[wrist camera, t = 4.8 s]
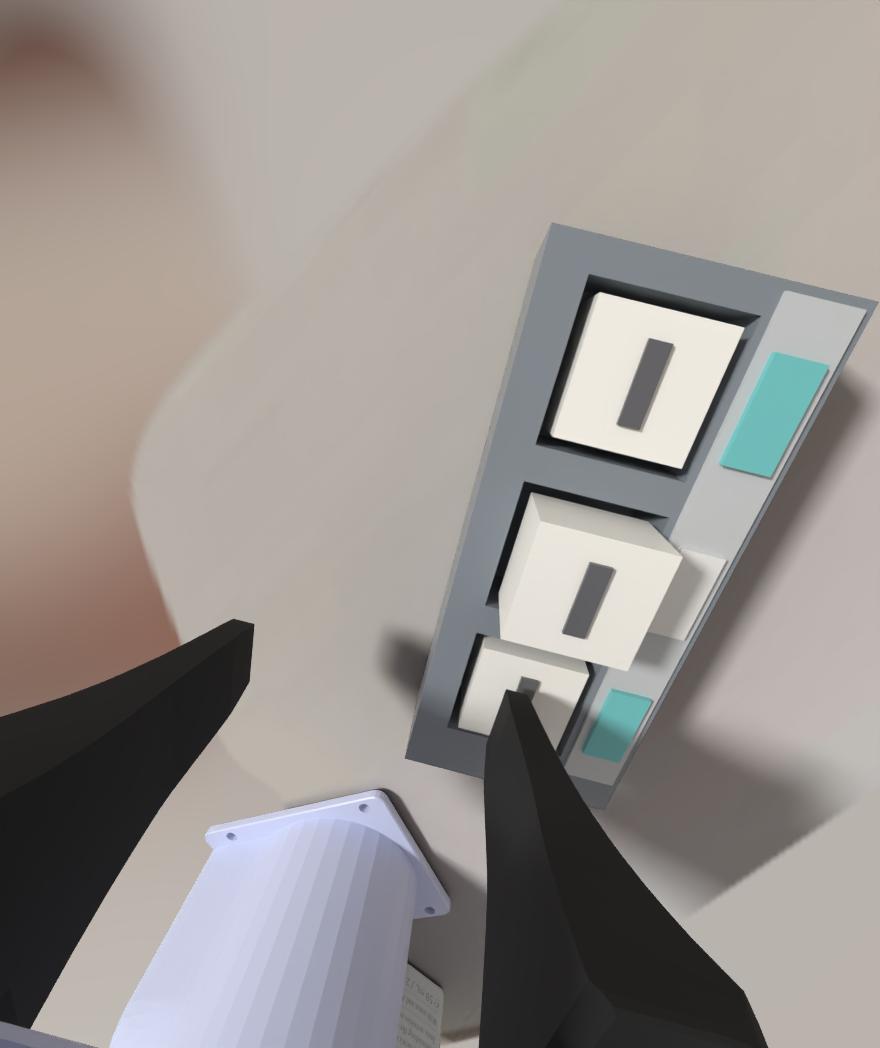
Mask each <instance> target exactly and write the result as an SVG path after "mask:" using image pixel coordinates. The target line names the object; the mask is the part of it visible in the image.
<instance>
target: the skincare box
mask: <svg viewBox="0 0 880 1048" xmlns="http://www.w3.org/2000/svg"><path fill="white" fill-rule="evenodd" d="M443 1007H444V994H443V990H442V989H441V988H440V987H438V986H437V985H435V984H434V983H433V982H432V981H430V980H429V979H428V978H426V977H425V976H424V975H422V974H421V973H420V972H419V971H417V970H416V969H415V968H413V967H412V966H411V965H409V964H408V963H407V968H406V975H405V983H404V990H403V998H402V1005H401V1013H400V1020H399V1028H398V1035H397V1043H396V1048H440V1040H441V1029H442V1018H443Z"/></svg>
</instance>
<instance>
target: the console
mask: <svg viewBox="0 0 880 1048" xmlns="http://www.w3.org/2000/svg"><path fill="white" fill-rule="evenodd" d="M599 292H601V293H605V294H609V295H613V296H618V297H622V298H626V299H630V300H634V301H638V302H642V303H646V304H650V305H654V306H658V307H662V308H667V309H671V310H675V311H679V312H683V313H687V314H691V315H695V316H699V317H703V318H707V319H711V320H716V321H720V322H724V323H728V324H732V325H736V326H740V327H744V331H743V333H742V335H741V337H740V340H739V342H738V344H737V346H736V348H735V351H734V353H733V355H732V357H731V360H730V362H729V364H728V366H727V369H726V371H725V373H724V375H723V378H722V380H721V382H720V384H719V386H718V389H717V391H716V393H715V395H714V398H713V400H712V402H711V404H710V407H709V409H708V411H707V413H706V416H705V418H704V420H703V422H702V424H701V427H700V429H699V431H698V433H697V436H696V438H695V440H694V442H693V445H692V447H691V449H690V451H689V454H688V456H687V458H686V460H685V462H684V465H683V467H682V469H680V468H676V467H672V466H668V465H664V464H660V463H656V462H652V461H648V460H644V459H640V458H636V457H632V456H628V455H624V454H620V453H616V452H612V451H608V450H604V449H600V448H595V447H591V446H587V445H583V444H579V443H575V442H571V441H567V440H563V439H559V438H555V437H552V435H551V434H550V433H549V432H548V430H547V429H546V428H545V427H544V426H543V424H542V423H543V419H544V416H545V413H546V410H547V407H548V404H549V400H550V397H551V394H552V391H553V388H554V384H555V381H556V378H557V375H558V372H559V368H560V365H561V362H562V359H563V356H564V352H565V349H566V346H567V343H568V340H569V336H570V333H571V330H572V327H573V324H574V320H575V317H576V314H577V311H578V308H579V304H581V303H582V302H584V301H586V300H587V299H589V298H591V297H592V296H594V295H596V294H597V293H599ZM878 303H879V302H877V301H873V300H869V299H865V298H861V297H856V296H852V295H848V294H844V293H840V292H836V291H832V290H828V289H824V288H819V287H815V286H811V285H807V284H803V283H799V282H795V281H791V280H787V279H782V278H778V277H774V276H770V275H766V274H762V273H758V272H754V271H750V270H745V269H741V268H737V267H733V266H729V265H725V264H721V263H717V262H713V261H708V260H704V259H700V258H696V257H692V256H688V255H684V254H680V253H676V252H671V251H667V250H663V249H659V248H655V247H651V246H647V245H643V244H639V243H634V242H630V241H626V240H622V239H618V238H614V237H610V236H606V235H602V234H597V233H593V232H589V231H585V230H581V229H577V228H573V227H569V226H564V225H560V224H556V223H551V226H550V228H549V230H548V232H547V234H546V236H545V238H544V240H543V243H542V245H541V247H540V249H539V251H538V253H537V255H536V259H535V263H534V266H533V270H532V274H531V277H530V281H529V285H528V288H527V292H526V296H525V300H524V303H523V307H522V311H521V314H520V318H519V322H518V326H517V329H516V333H515V337H514V340H513V344H512V348H511V351H510V355H509V359H508V363H507V366H506V370H505V374H504V377H503V381H502V385H501V389H500V392H499V396H498V400H497V403H496V407H495V411H494V414H493V418H492V422H491V426H490V429H489V433H488V437H487V440H486V444H485V448H484V452H483V455H482V459H481V463H480V466H479V470H478V474H477V478H476V481H475V485H474V489H473V492H472V496H471V500H470V503H469V507H468V511H467V515H466V518H465V522H464V526H463V529H462V533H461V537H460V541H459V544H458V548H457V552H456V555H455V559H454V563H453V566H452V570H451V574H450V578H449V581H448V585H447V589H446V592H445V596H444V600H443V604H442V607H441V611H440V615H439V618H438V622H437V626H436V629H435V633H434V637H433V641H432V644H431V648H430V652H429V655H428V659H427V663H426V667H425V670H424V674H423V678H422V681H421V685H420V689H419V692H418V697H417V702H416V707H415V712H414V717H413V721H412V726H411V731H410V736H409V741H408V745H407V750H406V755H405V759H409V760H413V761H417V762H421V763H424V764H428V765H432V766H436V767H440V768H444V769H447V770H451V771H455V772H459V773H463V774H467V775H470V776H474V777H478V778H482V779H484V769H485V756H486V743H487V740H488V738H489V735H485V734H482V733H478V732H474V731H470V730H466V729H462V728H458V723H459V710H460V698H461V685H462V678H463V675H464V672H465V669H466V665H467V662H468V659H469V656H470V653H471V649H472V646H473V643H474V640H475V637H476V634H477V633H480V634H484V635H487V636H491V637H495V638H499V639H501V638H500V616H499V590H500V587H501V584H502V581H503V578H504V575H505V572H506V569H507V566H508V563H509V559H510V556H511V553H512V550H513V547H514V544H515V541H516V538H517V535H518V531H519V528H520V525H521V522H522V519H523V516H524V513H525V510H526V507H527V504H528V500H529V497H530V494H531V492H533V493H537V494H541V495H545V496H549V497H553V498H557V499H561V500H565V501H569V502H573V503H577V504H581V505H585V506H589V507H593V508H597V509H601V510H604V511H608V512H612V513H616V514H620V515H624V516H628V517H632V518H636V519H640V520H644V521H648V522H649V523H650V524H651V525H652V526H653V527H654V528H655V529H656V530H657V531H658V532H659V533H660V534H661V535H662V536H663V537H664V538H665V539H666V540H667V541H668V542H669V543H670V544H671V545H672V546H673V547H674V548H675V549H676V550H677V551H678V552H679V553H680V554H681V555H682V556H683V558H682V560H681V562H680V564H679V566H678V569H677V571H676V573H675V575H674V577H673V579H672V581H671V583H670V585H669V587H668V589H667V591H666V593H665V595H664V597H663V599H662V601H661V604H660V606H659V608H658V610H657V612H656V614H655V616H654V618H653V620H652V622H651V624H650V626H649V628H648V630H647V632H646V634H645V636H644V638H643V641H642V643H641V645H640V647H639V649H638V651H637V653H636V655H635V657H634V659H633V661H632V663H631V665H630V667H629V669H628V671H624V670H620V669H616V668H612V667H608V666H604V665H600V664H596V663H592V662H588V661H585V663H586V666H587V669H588V672H589V677H588V679H587V681H586V684H585V686H584V688H583V690H582V693H581V695H580V697H579V699H578V701H577V704H576V706H575V708H574V710H573V713H572V715H571V717H570V719H569V722H568V724H567V726H566V728H565V730H564V733H563V735H562V737H561V739H560V742H559V744H558V746H557V748H556V753H557V755H558V757H559V759H560V760H561V762H562V764H563V766H564V768H565V770H566V772H567V773H568V775H569V777H570V779H571V780H572V782H573V784H574V785H575V787H576V789H577V790H578V792H579V794H580V795H581V797H582V799H583V800H584V802H585V804H586V805H587V806H589V807H593V808H597V809H601V810H604V809H605V807H606V805H607V803H608V802H609V800H610V798H611V796H612V794H613V792H614V791H615V789H616V787H617V785H618V783H619V781H620V779H621V778H622V776H623V774H624V772H625V770H626V768H627V767H628V765H629V763H630V761H631V759H632V757H633V755H634V754H635V752H636V750H637V748H638V746H639V744H640V742H641V741H642V739H643V737H644V735H645V733H646V731H647V730H648V728H649V726H650V724H651V722H652V720H653V718H654V717H655V715H656V713H657V711H658V709H659V707H660V706H661V704H662V702H663V700H664V698H665V696H666V694H667V693H668V691H669V689H670V687H671V685H672V683H673V682H674V680H675V678H676V676H677V674H678V672H679V670H680V669H681V667H682V665H683V663H684V661H685V659H686V657H687V656H688V654H689V652H690V650H691V648H692V646H693V645H694V643H695V641H696V639H697V637H698V635H699V633H700V632H701V630H702V628H703V626H704V624H705V622H706V621H707V619H708V617H709V615H710V613H711V611H712V609H713V608H714V606H715V604H716V602H717V600H718V598H719V597H720V595H721V593H722V591H723V589H724V587H725V585H726V584H727V582H728V580H729V578H730V576H731V574H732V572H733V571H734V569H735V567H736V565H737V563H738V561H739V560H740V558H741V556H742V554H743V552H744V550H745V548H746V547H747V545H748V543H749V541H750V539H751V537H752V536H753V534H754V532H755V530H756V528H757V526H758V524H759V523H760V521H761V519H762V517H763V515H764V513H765V512H766V510H767V508H768V506H769V504H770V502H771V500H772V499H773V497H774V495H775V493H776V491H777V489H778V487H779V486H780V484H781V482H782V480H783V478H784V476H785V475H786V473H787V471H788V469H789V467H790V465H791V463H792V462H793V460H794V458H795V456H796V454H797V452H798V451H799V449H800V447H801V445H802V443H803V441H804V439H805V438H806V436H807V434H808V432H809V430H810V428H811V427H812V425H813V423H814V421H815V419H816V417H817V415H818V414H819V412H820V410H821V408H822V406H823V404H824V403H825V401H826V399H827V397H828V395H829V393H830V391H831V390H832V388H833V386H834V384H835V382H836V380H837V378H838V377H839V375H840V373H841V371H842V369H843V367H844V366H845V364H846V362H847V360H848V358H849V356H850V354H851V353H852V351H853V349H854V347H855V345H856V343H857V342H858V340H859V338H860V336H861V334H862V332H863V330H864V329H865V327H866V325H867V323H868V321H869V319H870V318H871V316H872V314H873V312H874V310H875V308H876V306H877V305H878Z"/></svg>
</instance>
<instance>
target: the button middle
mask: <svg viewBox="0 0 880 1048" xmlns="http://www.w3.org/2000/svg"><path fill="white" fill-rule="evenodd" d="M682 558H683V556H682V555H681V554H680V553H679V552H678V551H677V550H676V549H675V548H674V547H673V546H672V545H671V544H670V543H669V542H668V541H667V540H666V539H665V538H664V537H663V536H662V535H661V534H660V533H659V532H658V531H657V530H656V529H655V528H654V527H653V526H652V525H651V524H650V523H649V522H648V521H644V520H640V519H636V518H632V517H628V516H624V515H620V514H616V513H612V512H608V511H604V510H601V509H597V508H593V507H589V506H585V505H581V504H577V503H573V502H569V501H565V500H561V499H557V498H553V497H549V496H545V495H541V494H537V493H533V492H531V494H530V497H529V500H528V504H527V507H526V510H525V513H524V516H523V519H522V522H521V525H520V528H519V531H518V535H517V538H516V541H515V544H514V547H513V550H512V553H511V556H510V559H509V563H508V566H507V569H506V572H505V575H504V578H503V581H502V584H501V587H500V590H499V616H500V638H501V639H503V640H507V641H510V642H514V643H518V644H522V645H526V646H530V647H534V648H538V649H542V650H546V651H549V652H553V653H557V654H561V655H565V656H569V657H573V658H577V659H581V660H585V661H588V662H592V663H596V664H600V665H604V666H608V667H612V668H616V669H620V670H624V671H628V669H629V667H630V665H631V663H632V661H633V659H634V657H635V655H636V653H637V651H638V649H639V647H640V645H641V643H642V641H643V638H644V636H645V634H646V632H647V630H648V628H649V626H650V624H651V622H652V620H653V618H654V616H655V614H656V612H657V610H658V608H659V606H660V604H661V601H662V599H663V597H664V595H665V593H666V591H667V589H668V587H669V585H670V583H671V581H672V579H673V577H674V575H675V573H676V571H677V569H678V566H679V564H680V562H681V560H682Z"/></svg>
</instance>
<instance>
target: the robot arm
mask: <svg viewBox="0 0 880 1048" xmlns="http://www.w3.org/2000/svg"><path fill="white" fill-rule="evenodd" d="M253 635H254V624H252V623H248V622H244V621H240V620H236V619H232V620H230V621H228V622H226V623H224V624H222V625H220V626H218V627H216V628H214V629H212V630H211V631H209V632H207V633H205V634H203V635H201V636H199V637H197V638H195V639H193V640H192V641H190V642H188V643H186V644H184V645H182V646H180V647H178V648H176V649H174V650H172V651H170V652H168V653H166V654H164V655H162V656H160V657H158V658H155V659H153V660H151V661H149V662H147V663H145V664H143V665H140V666H138V667H136V668H134V669H132V670H130V671H127V672H125V673H123V674H121V675H118V676H116V677H114V678H111V679H109V680H107V681H104V682H101V683H99V684H96V685H94V686H91V687H89V688H86V689H83V690H81V691H78V692H75V693H73V694H70V695H67V696H65V697H62V698H59V699H56V700H53V701H49V702H46V703H44V704H40V705H37V706H34V707H31V708H28V709H25V710H22V711H18V712H15V713H12V714H9V715H6V716H3V717H0V1048H97V1047H93V1046H90V1045H86V1044H82V1043H79V1042H75V1041H71V1040H68V1039H64V1038H60V1037H56V1036H53V1035H49V1034H45V1033H42V1032H38V1031H35V1030H31V1029H30V1028H31V1026H32V1025H33V1023H34V1021H35V1019H36V1017H37V1015H38V1013H39V1012H40V1010H41V1008H42V1006H43V1004H44V1003H45V1001H46V999H47V997H48V996H49V994H50V992H51V990H52V988H53V987H54V985H55V983H56V981H57V979H58V978H59V976H60V974H61V972H62V970H63V969H64V967H65V965H66V963H67V961H68V960H69V958H70V956H71V954H72V952H73V951H74V949H75V947H76V946H77V944H78V942H79V941H80V939H81V937H82V935H83V934H84V932H85V930H86V929H87V927H88V925H89V923H90V922H91V920H92V918H93V917H94V915H95V913H96V911H97V910H98V908H99V906H100V904H101V903H102V901H103V899H104V898H105V896H106V894H107V892H108V891H109V889H110V888H111V886H112V884H113V883H114V881H115V879H116V878H117V876H118V875H119V873H120V871H121V870H122V868H123V866H124V865H125V863H126V862H127V860H128V858H129V857H130V855H131V853H132V852H133V850H134V848H135V847H136V845H137V844H138V842H139V841H140V839H141V837H142V836H143V834H144V833H145V831H146V829H147V828H148V826H149V825H150V823H151V822H152V820H153V818H154V817H155V815H156V814H157V812H158V811H159V809H160V808H161V806H162V805H163V803H164V802H165V801H166V799H167V798H168V796H169V795H170V794H171V792H172V791H173V789H174V788H175V787H176V785H177V784H178V783H179V781H180V780H181V779H182V778H183V776H184V775H185V774H186V772H187V771H188V770H189V768H190V767H191V766H192V764H193V763H194V761H195V760H196V759H197V758H198V756H199V755H200V754H201V752H202V751H203V750H204V749H205V747H206V746H207V745H208V743H209V742H210V741H211V739H212V738H213V737H214V736H215V734H216V733H217V732H218V730H219V729H220V728H221V726H222V725H223V724H224V722H225V721H226V720H227V718H228V717H229V715H230V714H231V712H232V711H233V709H234V707H235V706H236V704H237V702H238V701H239V699H240V697H241V696H242V694H243V692H244V690H245V689H246V687H247V685H248V683H249V681H250V669H251V658H252V647H253ZM484 805H485V830H486V855H487V914H486V937H485V956H484V974H483V992H482V1007H481V1022H480V1036H479V1048H768V1046H767V1044H766V1041H765V1038H764V1036H763V1033H762V1031H761V1028H760V1026H759V1023H758V1021H757V1019H756V1017H755V1014H754V1012H753V1010H752V1008H751V1006H750V1003H749V1001H748V999H747V997H746V995H745V993H744V991H743V990H742V989H741V988H740V987H739V986H738V985H737V984H736V983H735V982H734V981H733V980H732V979H731V978H730V977H729V976H728V975H727V974H726V973H725V972H724V971H723V970H722V969H721V968H720V967H719V966H718V965H717V963H715V961H713V959H712V958H711V957H710V956H709V955H708V954H707V953H706V952H705V951H704V950H703V949H702V948H701V947H700V946H699V945H698V944H697V943H696V942H695V941H694V940H693V939H692V938H691V937H690V936H689V935H688V934H687V932H686V931H685V930H684V929H683V928H682V927H681V926H680V925H679V924H678V922H677V921H676V920H675V919H674V918H673V917H672V916H671V915H670V913H669V912H668V911H667V910H666V909H665V908H664V907H663V906H662V904H661V903H660V902H659V901H658V900H657V899H656V897H655V896H654V895H653V894H652V893H651V891H650V890H649V889H648V888H647V887H646V886H645V884H644V883H643V882H642V881H641V879H640V878H639V877H638V876H637V874H636V873H635V872H634V870H633V869H632V868H631V867H630V865H629V864H628V863H627V862H626V860H625V859H624V858H623V857H622V855H621V854H620V853H619V851H618V850H617V849H616V847H615V846H614V845H613V843H612V842H611V840H610V839H609V838H608V836H607V835H606V833H605V832H604V830H603V829H602V828H601V826H600V825H599V823H598V822H597V820H596V819H595V817H594V816H593V815H592V813H591V812H590V810H589V808H588V807H587V805H586V804H585V802H584V800H583V799H582V797H581V795H580V794H579V792H578V790H577V789H576V787H575V785H574V784H573V782H572V780H571V779H570V777H569V775H568V773H567V772H566V770H565V768H564V766H563V764H562V762H561V760H560V759H559V757H558V755H557V753H556V751H555V749H554V747H553V745H552V743H551V741H550V740H549V738H548V736H547V733H546V731H545V729H544V727H543V725H542V723H541V721H540V719H539V717H538V715H537V713H536V710H535V708H534V706H533V704H532V702H531V700H530V698H529V696H528V695H527V694H523V693H519V692H516V691H512V690H508V689H506V691H505V693H504V696H503V699H502V702H501V704H500V707H499V710H498V713H497V715H496V718H495V721H494V724H493V727H492V729H491V732H490V735H489V738H488V740H487V743H486V756H485V769H484ZM205 840H206V842H207V843H208V844H209V845H210V847H211V848H212V849H213V852H212V854H211V855H210V857H209V859H208V861H207V862H206V864H205V866H204V868H203V870H202V872H201V873H200V875H199V877H198V879H197V880H196V882H195V884H194V886H193V888H192V890H191V891H190V893H189V895H188V897H187V899H186V900H185V902H184V904H183V906H182V907H181V909H180V911H179V913H178V915H177V916H176V918H175V920H174V922H173V924H172V925H171V927H170V929H169V931H168V933H167V934H166V936H165V938H164V940H163V941H162V944H161V945H160V947H159V949H158V950H157V952H156V954H155V956H154V958H153V959H152V961H151V963H150V965H149V966H148V968H147V970H146V972H145V974H144V975H143V977H142V979H141V981H140V983H139V984H138V986H137V988H136V990H135V992H134V994H133V995H132V997H131V999H130V1000H129V1003H128V1004H127V1006H126V1008H125V1010H124V1012H123V1014H122V1016H121V1019H120V1021H119V1023H118V1026H117V1028H116V1030H115V1033H114V1035H113V1038H112V1040H111V1044H110V1047H109V1048H396V1043H397V1035H398V1028H399V1020H400V1013H401V1005H402V998H403V990H404V983H405V975H406V968H407V960H408V953H409V945H410V938H411V930H412V923H413V919H420V918H427V917H434V916H441V915H445V914H447V913H448V912H449V911H450V904H451V901H450V899H449V897H448V895H447V894H446V892H445V890H444V889H443V887H442V885H441V884H440V882H439V880H438V879H437V877H436V876H435V874H434V872H433V871H432V869H431V867H430V866H429V864H428V862H427V861H426V859H425V857H424V856H423V854H422V852H421V851H420V849H419V848H418V846H417V844H416V843H415V841H414V839H413V838H412V836H411V834H410V833H409V831H408V829H407V828H406V826H405V824H404V823H403V821H402V820H401V818H400V816H399V815H398V813H397V811H396V810H395V808H394V806H393V805H392V803H391V801H390V800H389V798H388V797H387V795H386V794H385V793H384V792H382V791H379V790H371V791H367V792H362V793H358V794H353V795H349V796H344V797H340V798H335V799H331V800H326V801H322V802H317V803H313V804H308V805H304V806H299V807H295V808H290V809H286V810H282V811H277V812H272V813H268V814H264V815H259V816H254V817H250V818H246V819H241V820H236V821H232V822H228V823H223V824H219V825H214V826H211V827H210V828H209V830H208V831H207V833H206V835H205Z"/></svg>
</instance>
